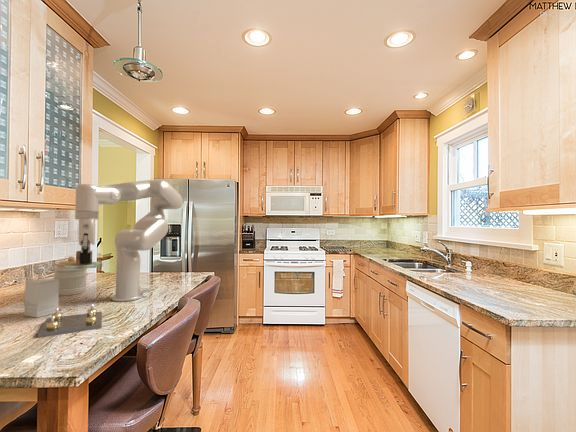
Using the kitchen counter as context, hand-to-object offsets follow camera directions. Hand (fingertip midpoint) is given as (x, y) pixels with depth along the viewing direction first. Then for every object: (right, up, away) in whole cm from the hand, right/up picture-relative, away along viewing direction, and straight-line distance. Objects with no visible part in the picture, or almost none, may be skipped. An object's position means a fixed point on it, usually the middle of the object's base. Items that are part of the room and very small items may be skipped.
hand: (85, 262), depth 113 cm
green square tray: (0, -2, 0) cm, 2 cm away
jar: (-27, -20, +28) cm, 44 cm away
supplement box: (-13, -19, -4) cm, 24 cm away
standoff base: (+7, -19, -15) cm, 25 cm away
